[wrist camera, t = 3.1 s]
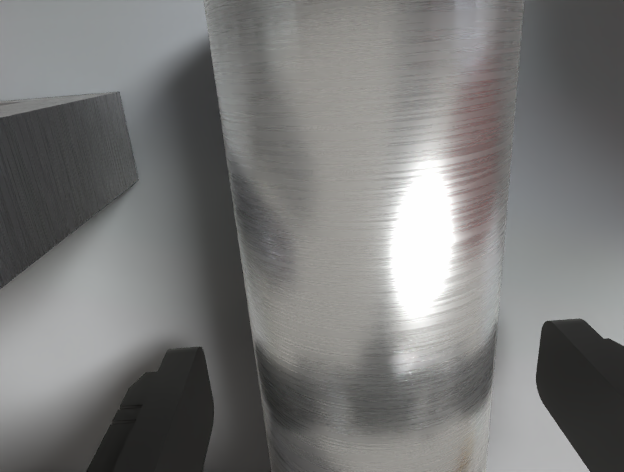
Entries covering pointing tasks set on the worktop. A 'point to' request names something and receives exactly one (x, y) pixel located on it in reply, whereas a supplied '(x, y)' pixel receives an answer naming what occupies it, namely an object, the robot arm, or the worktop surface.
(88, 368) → the worktop surface
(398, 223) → the tube
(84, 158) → the grey metal blocks
